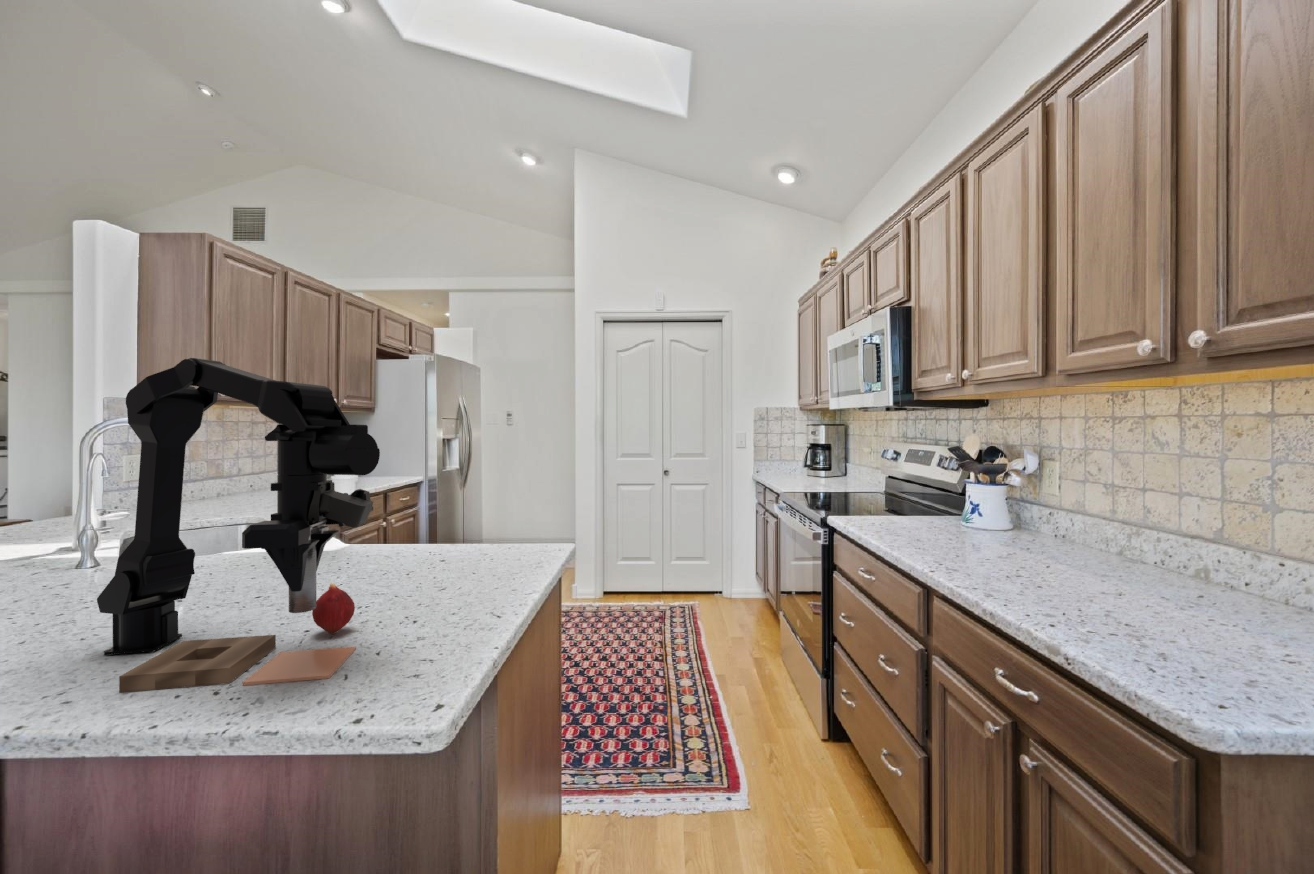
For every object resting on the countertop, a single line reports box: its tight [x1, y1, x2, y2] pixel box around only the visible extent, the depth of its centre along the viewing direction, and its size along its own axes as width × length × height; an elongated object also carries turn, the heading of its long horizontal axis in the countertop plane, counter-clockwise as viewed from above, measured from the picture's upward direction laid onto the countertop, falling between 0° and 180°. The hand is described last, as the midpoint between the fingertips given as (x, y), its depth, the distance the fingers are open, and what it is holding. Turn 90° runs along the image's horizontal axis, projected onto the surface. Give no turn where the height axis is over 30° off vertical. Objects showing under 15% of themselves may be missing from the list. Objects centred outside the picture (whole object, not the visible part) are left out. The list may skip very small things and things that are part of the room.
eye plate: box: [118, 634, 277, 693], centre depth 74 cm, size 12×12×2 cm
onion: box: [311, 582, 356, 635], centre depth 88 cm, size 6×6×8 cm
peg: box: [288, 544, 317, 614], centre depth 75 cm, size 3×3×9 cm
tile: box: [242, 646, 357, 686], centre depth 75 cm, size 10×10×1 cm
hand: (302, 587), depth 75 cm, fingers closed on peg, 3 cm apart
